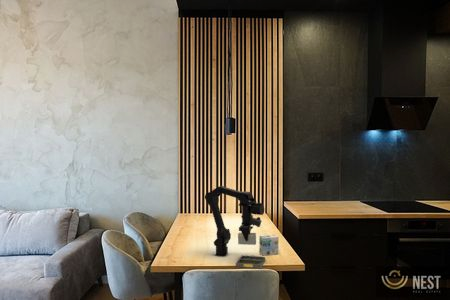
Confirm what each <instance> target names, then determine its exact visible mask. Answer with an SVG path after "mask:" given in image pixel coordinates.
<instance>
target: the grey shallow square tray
mask: <svg viewBox="0 0 450 300" xmlns="http://www.w3.org/2000/svg"><path fill="white" fill-rule="evenodd" d="M265 262H266V256H259V255H258V256H256V255H255V256H254V255H243V254H242V255H241V256H240V257H239V258H238V259H237V261H236V262H235V267H236V268H246V269H247V268H249V269H262V268H263V266H264V265H265V264H264V263H265Z"/></svg>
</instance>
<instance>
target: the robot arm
mask: <svg viewBox="0 0 450 300" xmlns="http://www.w3.org/2000/svg"><path fill="white" fill-rule="evenodd" d="M221 195H226V196H230V197H233V198H235V199H236V200H238V201H240V203H238V206H239V207H241V216H240V217H241V224H240V225H239V227H238V231H239V232H240V233H242V234H243V236H244V238H245V241H248V235H249V233H252V232H251V231H252V229H254V227H257V228H260V227H261V225H262V220H261V217H260V216H263V215H264V213H265V206H264V204H263V202H257V200H256V199H255V197H254V195H253V193H252V192H251V191H243V190H242V191H241V190H236V189H233V188H230V187H226V186H224V185H219V186H217V187H216V188H214V189H212V190H210V191H208V192H206V193H205V195H204V199H205V201H206V204H207V205H208V206H209V207H210V210H211V213H212V216H213V219H214V223H215V227H216V239H215V240H214V241H213V245H214V247H215V254H214V256H218V257H226V256H227V255H228V254H229V253H228V252H229V251H228V250H229V249H228V248H229V247H228V244H229V242H230V240H231V235H232V233H231V231H230V228H226V226H225V223H224V220H223V216H222V212H221V210H220V205H219V201H220V200H219V199H220V196H221ZM254 215H255V216H256V215H258V216H257V217H254Z"/></svg>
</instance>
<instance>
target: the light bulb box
mask: <svg viewBox="0 0 450 300" xmlns="http://www.w3.org/2000/svg"><path fill="white" fill-rule="evenodd" d="M258 238H259V239H258V240H259V242H258V243H259V246H258V247H259V250H258V251H259V254H260V255H262V256H273V255H279V253H280V252H279V251H280V250H279V248H280V247H279V240H280V239H279V236H278V235H276V234H264V235H259V237H258Z"/></svg>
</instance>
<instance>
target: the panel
mask: <svg viewBox="0 0 450 300" xmlns="http://www.w3.org/2000/svg"><path fill="white" fill-rule="evenodd" d="M237 241H238V243H237V244H238V245H249V246H250V245H251V246H256V244H257V233H256V232H250V233H249V235H248V241H245V238H244V236H243V234H242V232H238V234H237Z"/></svg>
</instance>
